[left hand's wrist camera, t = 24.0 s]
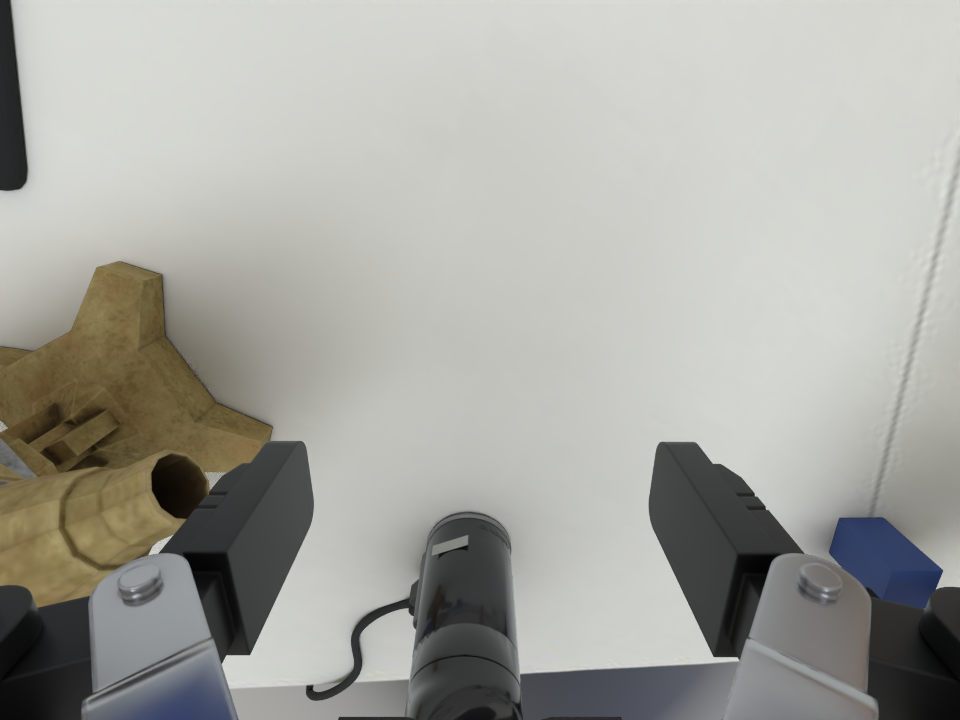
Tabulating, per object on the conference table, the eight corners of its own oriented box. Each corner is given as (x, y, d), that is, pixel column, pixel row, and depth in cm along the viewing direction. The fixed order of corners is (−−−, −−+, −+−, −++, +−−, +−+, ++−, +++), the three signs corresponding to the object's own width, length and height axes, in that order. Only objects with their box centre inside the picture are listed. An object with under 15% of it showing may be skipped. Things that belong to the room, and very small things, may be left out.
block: (883, 517, 56) (943, 570, 49) (871, 552, 58) (927, 608, 50) (839, 518, 56) (892, 570, 49) (828, 553, 58) (879, 609, 50)
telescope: (433, 379, 50) (293, 1033, 12) (115, 526, 56) (-608, 1249, 19) (304, 155, 42) (-1003, 103, 5) (-45, 354, 49) (-1758, 979, 11)
